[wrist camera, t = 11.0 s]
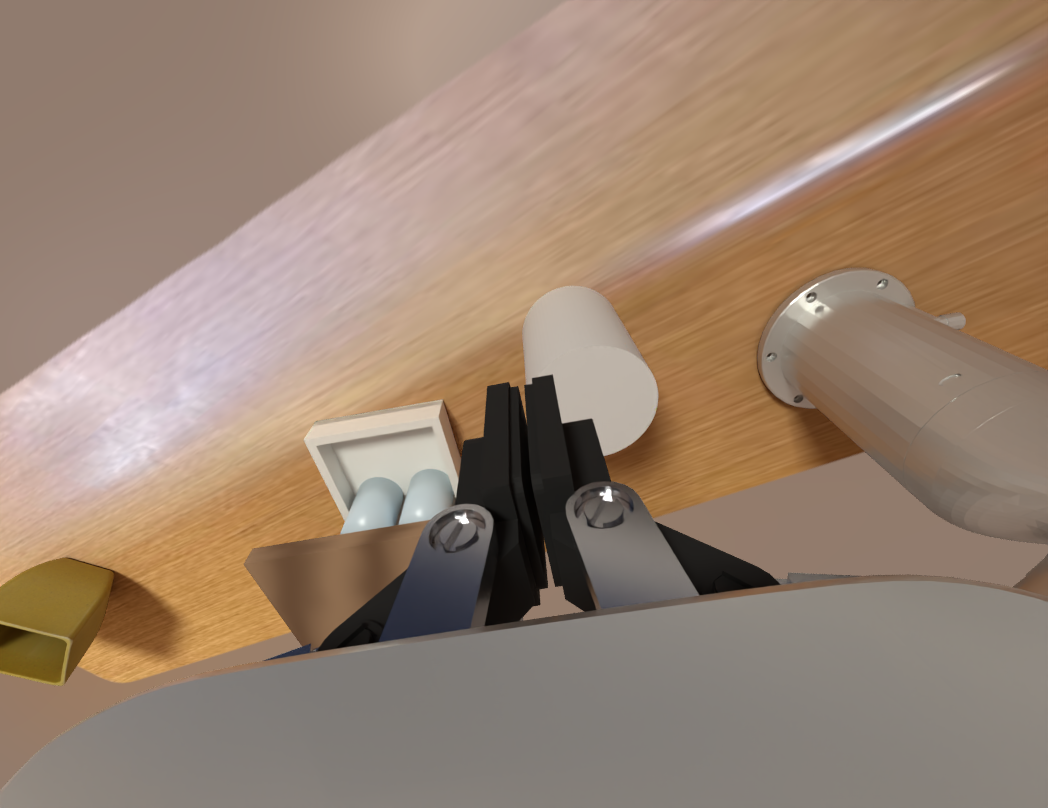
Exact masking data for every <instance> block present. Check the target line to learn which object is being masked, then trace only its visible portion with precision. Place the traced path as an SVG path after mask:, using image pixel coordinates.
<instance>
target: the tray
mask: <svg viewBox="0 0 1048 808" xmlns="http://www.w3.org/2000/svg"><path fill="white" fill-rule="evenodd" d="M304 442H305V444H306V446H307V448H308V450H309V452H310V454H311V455H312V457H313V459H314V461H315V463H316V465H317V467H318V469H319V471H320V473H321V475H322V477H323V479H324V481H325V483H326V485H327V487H328V489H329V491H330V493H331V495H332V497H333V499H334V501H335V503H336V505H337V507H338V509H339V511H340V513H341V515H342V517H343V519H344V521H346V518H347V516H348V514H349V511H350V509H351V506H352V504H353V501H354V499H355V497H356V494H357V492H358V489H359V487H360V485H361V484H362V483H363V482H364V481H365V480H367V479H370V478H374V477H383V478H387V479H390V480H392V481H394V482H395V483H396V484H398V485H399V486H400V488H401V489H402V492H403V501H402V504H401V508H400V512H399V515H398V519H397V522H396V525H399V521H400V517H401V514H402V510H403V506H404V503H405V499H406V495H407V492H408V488H409V484H410V481H411V478H412V477H413V476H414V475H415V474H416V473H417V472H419V471H422V470H425V469H436V470H440V471H443V472H445V473H446V474H448V476H449V479H450V482H451V485H452V488H453V491H454V496H453V503H452V506H455V501H456V494H457V487H458V479H459V472H460V465H461V458H460V454H459V451H458V448H457V445H456V441H455V438H454V435H453V432H452V428H451V425H450V422H449V419H448V415H447V412H446V409H445V405H444V402H443V399H442V400H436V401H431V402H425V403H419V404H413V405H407V406H402V407H396V408H390V409H384V410H378V411H372V412H367V413H361V414H355V415H349V416H343V417H338V418H332V419H326V420H320V421H316V422H315V423H314V425H313V426H312V428H311V429H310V431H309V432H308V434H307V435H306V437H305V438H304Z"/></svg>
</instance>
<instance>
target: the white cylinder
mask: <svg viewBox="0 0 1048 808" xmlns="http://www.w3.org/2000/svg"><path fill="white" fill-rule="evenodd" d="M523 348H524V361H525V374H526V385H528V384H532V378H535V377H540V376H546V375H552V374H553V378H554V384H555V389H556V394H557V400H558V405H559V410H560V416H561V421H562V423H567V422H573V421H579V420H585V419H590V418H592V419H593V422H594V425H595V429H596V432H597V435H598V439H599V442H600V446H601V449H602V452H603V456H606V455H610V454H613V453H616V452H618V451H620V450H622V449H624V448H626V447H627V446H629V445H631V444H632V443H633V442H635V441H636V440H637V439H638V438H639V437H640V436H641V435H642V434H643V433H644V432H645V431H646V429H647V428H648V427H649V425H650V423H651V422H652V420H653V418H654V415H655V413H656V409H657V405H658V388H657V384H656V381H655V378H654V376H653V374H652V372H651V371H650V369H649V367H648V366H647V364H646V362H645V360H644V359H643V357H642V355H641V354H640V352H639V350H638V349H637V347H636V345H635V344H634V342H633V340H632V339H631V337H630V335H629V333H628V332H627V330H626V328H625V327H624V325H623V323H622V322H621V320H620V318H619V317H618V315H617V313H616V312H615V310H614V308H613V306H612V305H611V304H610V302H609V301H608V300H607V299H606V298H605V297H604V296H603V295H601V294H600V293H598V292H596V291H594V290H592V289H590V288H586V287H582V286H566V287H561V288H557V289H554V290H552V291H550V292H548V293H546V294H545V295H543V296H542V297H541V298H540V299H538V300H537V301H536V302H535V303H534V305H533V306H532V307H531V309H530V310H529V312H528V314H527V316H526V318H525V321H524V325H523Z"/></svg>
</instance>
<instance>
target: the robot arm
mask: <svg viewBox="0 0 1048 808" xmlns="http://www.w3.org/2000/svg"><path fill="white" fill-rule="evenodd" d="M965 320H966V319H965V317H964V315H963V314H961V313H958V312H956V313H950V314H945V315H940V316H938V317H935V316H933V315H931V314H929V313H926V312H924V311H922V310H919V309H917V308H915V303H914V300H913V298H912V296H911V293H910V291H909V290H908V289H907V288H906V287H905V285H904V284H903V283H902V282H900V281H899V280H897V279H896V278H894V277H893V276H891V275H889V274H886V273H884V272H881V271H878V270H874V269H869V268H847V269H841V270H836V271H833V272H830V273H827V274H825V275H822V276H819V277H817V278H816V279H814V280H812V281H810V282H808V283H806V284H805V285H803V286H802V287H801V288H799V289H798V290H797V291H795V292H794V293H793V294H791V295H790V296H789V297H788V298H787V299H786V300H785V301H784V302H783V303H782V304H781V305H780V306H779V307H778V309H777V310H776V311H775V313H774V314H773V315H772V317H771V318H770V320H769V322H768V323H767V325H766V327H765V329H764V331H763V333H762V336H761V339H760V343H759V346H758V355H757V362H758V370H759V373H760V376H761V379H762V381H763V382H764V384H765V385H766V387H767V388H768V389H769V390H770V391H771V392H772V393H773V394H774V395H775V396H776V397H777V398H779V399H780V400H782V401H783V402H785V403H787V404H790V405H792V406H795V407H801V408H807V409H814V408H817V409H818V410H819V411H820V412H822V413H823V414H824V415H825V416H826V417H827V418H828V419H829V420H830V421H832V422H833V423H834V424H835V425H836V426H837V427H838V428H839V429H840V430H841V431H843V432H844V433H845V434H846V435H847V436H848V437H849V438H850V439H851V440H853V441H854V442H855V443H856V444H857V445H858V446H859V447H860V448H861V449H863V450H864V451H865V452H866V453H867V454H868V455H869V456H870V457H871V458H872V459H874V460H875V461H876V462H877V463H878V464H879V465H880V466H881V467H883V468H884V469H885V470H886V471H887V472H888V473H889V474H890V475H891V476H892V477H894V478H895V479H896V480H897V481H898V482H899V483H900V484H901V485H902V486H904V487H905V488H906V489H907V490H908V491H909V492H910V493H911V494H913V495H914V496H915V497H916V498H917V499H918V500H919V501H921V502H922V503H923V504H924V505H925V506H926V507H927V508H928V509H930V510H931V511H932V512H933V513H935V514H936V515H938V516H939V517H941V518H943V519H944V520H946V521H947V522H949V523H951V524H953V525H956V526H958V527H960V528H962V529H965V530H967V531H971V532H973V533H977V534H981V535H985V536H989V537H994V538H1000V539H1006V540H1011V541H1019V542H1027V543H1037V544H1047V545H1048V370H1046V369H1044V368H1041V367H1039V366H1037V365H1035V364H1032V363H1030V362H1028V361H1026V360H1023V359H1021V358H1019V357H1017V356H1015V355H1012V354H1010V353H1008V352H1006V351H1003V350H1001V349H999V348H997V347H994V346H992V345H990V344H988V343H986V342H983V341H981V340H979V339H977V338H974V337H972V336H970V335H968V334H965V333H963V332H961V331H959V329H961V328H963V327H964V325H965ZM524 387H525V401H526V416H527V423H526V419H525V414H524V410H523V405H522V401H521V396H520V392H519V388H518V386H517V387H510V384H509V382H507V383H502V384H496V385H491V386H488V387H487V398H486V411H485V424H484V437H481V438H475V439H470V440H465V441H464V444H463V450H462V458H461V465H460V472H459V479H458V487H457V494H456V501H455V506H452V507H450V508H447V509H444V510H443V511H441V512H440V513H438V514H436V515H435V516H434V517H433V518H432V519H431V520H430V521H429V522H428V523H427V524H426V526H425V528H424V529H423V531H422V533H421V536H420V538H419V541H418V543H417V546H416V548H415V551H414V554H413V556H412V559H411V561H410V564H409V566H408V569H406V570H405V571H404V572H403V573H402V574H400V575H399V576H398V577H397V578H396V579H394V580H393V581H392V582H391V583H390V584H388V585H387V586H386V587H385V588H384V589H382V590H381V591H380V592H379V593H378V594H376V595H375V596H374V597H373V598H372V599H370V600H369V601H368V602H367V603H366V604H364V605H363V606H362V607H361V608H360V609H358V610H357V611H356V612H355V613H354V614H352V615H351V616H350V617H349V618H348V619H346V620H345V621H344V622H343V623H342V624H340V625H339V626H338V627H337V628H336V629H334V630H333V631H332V632H331V633H330V634H329V635H328V637H327V638H326V639H325V640H324V641H323V642H322V644H321V645H320V647H318V648H314V647H313V645H312V644H308V645H305V646H302V647H300V648H297V649H294V650H291V651H289V652H286V653H283V654H280V655H277V656H275V657H272V658H269V659H266V660H264V661H260V662H254V663H248V664H243V665H238V666H233V667H228V668H224V669H219V670H213V671H209V672H204V673H200V674H196V675H193V676H189V677H186V678H182V679H179V680H175V681H171V682H168V683H165V684H162V685H159V686H157V687H154V688H151V689H148V690H146V691H143V692H140V693H138V694H135V695H132V696H130V697H128V698H126V699H124V700H122V701H120V702H118V703H116V704H114V705H112V706H110V707H107V708H105V709H103V710H101V711H99V712H97V713H95V714H93V715H92V716H90V717H88V718H86V719H85V720H83V721H81V722H79V723H78V724H76V725H74V726H73V727H71V728H70V729H68V730H66V731H65V732H63V733H62V734H60V735H59V736H57V737H56V738H55V739H53V740H52V741H50V742H49V743H48V744H47V745H45V746H44V747H43V748H42V749H41V750H39V751H38V752H37V753H36V754H35V755H34V756H32V757H31V759H29V761H27V762H26V764H25V765H23V766H22V768H20V770H18V772H16V774H15V775H14V776H13V777H12V778H11V779H10V780H9V781H8V782H7V783H6V785H5V786H4V787H3V788H2V789H1V790H0V808H1048V554H1047V555H1046V557H1045V558H1044V559H1043V560H1042V561H1041V562H1040V563H1039V564H1037V565H1036V566H1035V567H1034V568H1033V569H1032V570H1031V571H1029V572H1028V573H1027V574H1026V577H1025V578H1024V579H1022V580H1021V581H1020V582H1018V583H1017V584H1016V585H1015V586H1013V587H1009V586H1004V585H1000V584H993V583H986V582H980V581H973V580H966V579H960V578H953V577H938V576H921V575H875V576H874V575H873V576H850V575H827V574H805V573H788V578H787V579H774V578H773V577H772V576H771V575H770V574H769V573H767V572H765V571H764V570H762V569H760V568H759V567H757V566H754V565H752V564H750V563H748V562H746V561H743V560H741V559H739V558H737V557H734V556H732V555H730V554H727V553H725V552H723V551H721V550H718V549H716V548H714V547H711V546H709V545H707V544H705V543H703V542H700V541H698V540H696V539H694V538H691V537H689V536H687V535H685V534H682V533H680V532H678V531H675V530H673V529H671V528H669V527H666V526H664V525H662V524H660V523H657V522H655V521H654V520H653V518H652V516H651V515H650V513H649V511H648V510H647V508H646V506H645V505H644V503H643V501H642V500H641V498H640V497H639V495H638V494H637V493H636V492H635V491H634V490H633V489H631V488H630V487H628V486H626V485H624V484H621V483H617V482H611V480H610V476H609V473H608V469H607V466H606V463H605V459H604V456H603V452H602V449H601V446H600V442H599V439H598V435H597V432H596V429H595V425H594V422H593V419H592V418H590V419H585V420H579V421H573V422H567V423H562V421H561V416H560V410H559V405H558V400H557V394H556V389H555V384H554V378H553V374H552V375H546V376H540V377H535V378H532V384H528V385H524ZM544 540H545V545H546V549H547V553H548V557H549V562H550V566H551V570H552V575H553V579H554V583H555V587H558V586H563V590H564V595H565V599H566V600H568V601H569V602H571V603H572V604H574V605H575V606H577V607H578V608H580V609H581V610H583V611H584V612H580V613H573V614H566V615H559V616H552V617H545V618H539V619H532V620H525V621H523V616H524V615H525V614H526V613H527V612H528V611H529V610H530V609H531V607H532V606H538V605H540V592H539V589H544V588H548V581H547V569H546V559H545V547H544Z"/></svg>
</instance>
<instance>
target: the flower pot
mask: <svg viewBox="0 0 1048 808" xmlns="http://www.w3.org/2000/svg"><path fill="white" fill-rule="evenodd" d="M113 579H114V573H113V572H112V571H110V570H107V569H103V568H100V567H96V566H93V565H89V564H86V563H83V562H79V561H76V560H73V559H69V558H60V559H56V560H52V561H48V562H45V563H42V564H39V565H37V566H34V567H32V568H30V569H28V570H26V571H24V572H22V573H20V574H19V575H17V576H15V577H14V578H12V579H11V580H9V581H8V582H6V583H5V584H4V585H2V586H1V587H0V673H2V674H7V675H12V676H15V677H20V678H24V679H29V680H33V681H37V682H42V683H47V684H51V685H58V686H63V685H64V684H65V683H66V681H67V680H68V678H69V677H70V675H71V673H72V672H73V671H74V669H75V668H76V666H77V665H78V663H79V662H80V660H81V659H82V657H83V656H84V654H85V653H86V651H87V650H88V648H89V647H90V645H91V643H92V642H93V640H94V639H95V637H96V635H97V633H98V631H99V629H100V627H101V624H102V622H103V619H104V616H105V613H106V609H107V605H108V601H109V596H110V591H111V587H112V583H113Z"/></svg>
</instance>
